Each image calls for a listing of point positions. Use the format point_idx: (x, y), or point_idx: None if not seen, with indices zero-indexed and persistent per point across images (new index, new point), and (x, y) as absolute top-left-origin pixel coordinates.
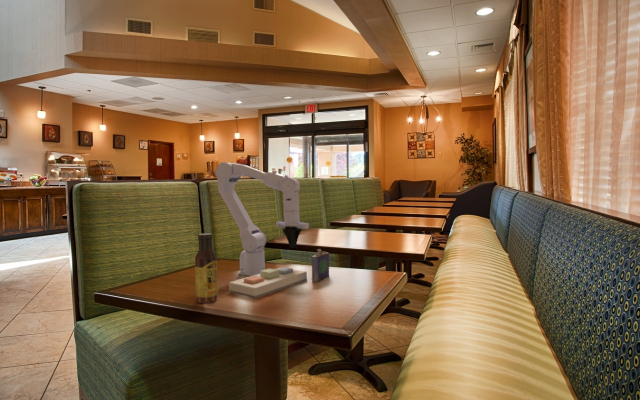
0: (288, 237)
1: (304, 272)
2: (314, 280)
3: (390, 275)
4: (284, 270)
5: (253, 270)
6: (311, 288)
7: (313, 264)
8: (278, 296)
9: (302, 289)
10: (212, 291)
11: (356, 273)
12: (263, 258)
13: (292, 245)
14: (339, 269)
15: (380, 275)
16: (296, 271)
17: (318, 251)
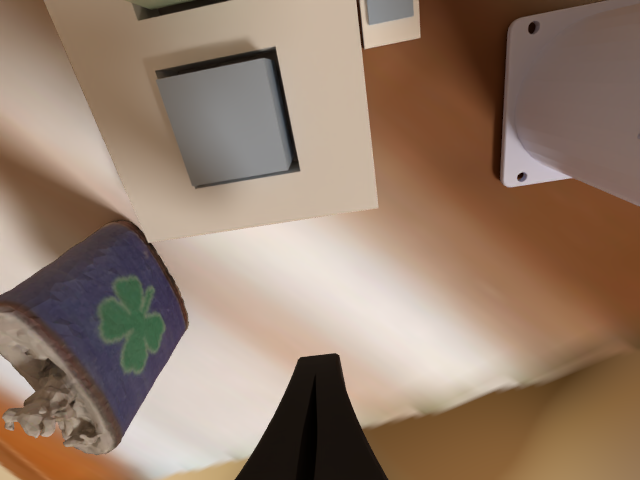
0: (326, 458)
1: (141, 222)
2: (104, 225)
3: (39, 464)
4: (183, 100)
5: (572, 35)
6: (5, 130)
7: (36, 273)
8: None
9: (9, 75)
10: None
11: (143, 425)
12: (590, 159)
13: (293, 380)
14: (250, 430)
15: (59, 448)
16: (192, 200)
17: (33, 404)
